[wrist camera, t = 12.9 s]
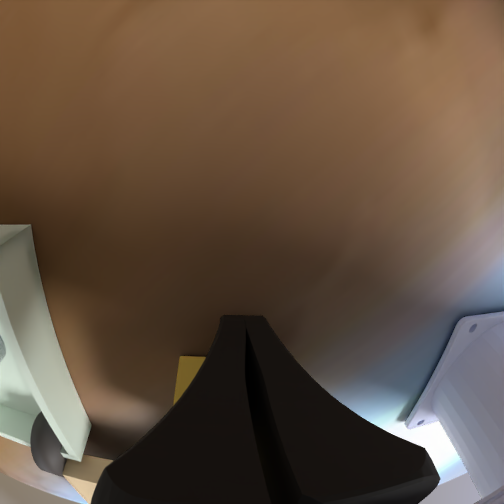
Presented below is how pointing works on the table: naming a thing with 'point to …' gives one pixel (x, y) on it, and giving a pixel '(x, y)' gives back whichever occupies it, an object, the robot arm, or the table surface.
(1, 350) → the pin
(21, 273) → the tray
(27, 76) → the table surface
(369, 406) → the table surface
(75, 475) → the trolley
